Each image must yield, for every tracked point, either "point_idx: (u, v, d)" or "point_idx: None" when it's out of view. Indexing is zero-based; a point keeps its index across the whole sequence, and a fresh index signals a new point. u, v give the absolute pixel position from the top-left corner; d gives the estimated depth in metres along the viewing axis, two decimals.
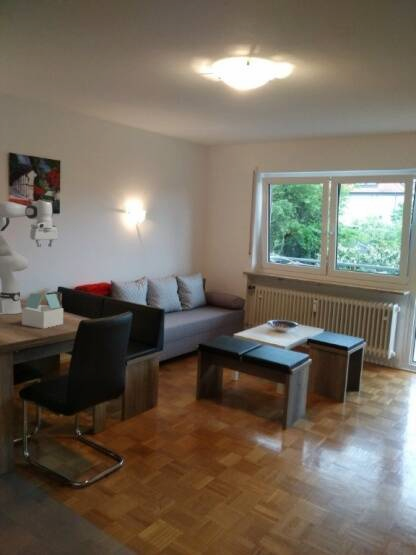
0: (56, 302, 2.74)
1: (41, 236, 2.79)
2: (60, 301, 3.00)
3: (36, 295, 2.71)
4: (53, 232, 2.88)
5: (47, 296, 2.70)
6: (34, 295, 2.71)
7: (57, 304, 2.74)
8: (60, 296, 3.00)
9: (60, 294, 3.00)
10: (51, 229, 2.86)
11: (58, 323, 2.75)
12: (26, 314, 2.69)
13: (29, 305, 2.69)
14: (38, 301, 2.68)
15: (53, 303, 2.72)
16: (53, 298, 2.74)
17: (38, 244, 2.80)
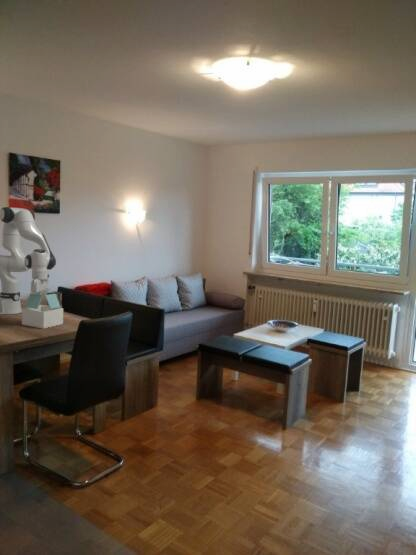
0: (56, 302, 2.74)
1: None
2: (60, 301, 3.00)
3: (36, 295, 2.71)
4: None
5: (47, 296, 2.70)
6: (34, 295, 2.71)
7: (57, 304, 2.74)
8: (60, 296, 3.00)
9: (60, 294, 3.00)
10: None
11: (58, 323, 2.75)
12: (26, 314, 2.69)
13: (29, 305, 2.69)
14: (38, 301, 2.68)
15: (53, 303, 2.72)
16: (53, 298, 2.74)
17: None
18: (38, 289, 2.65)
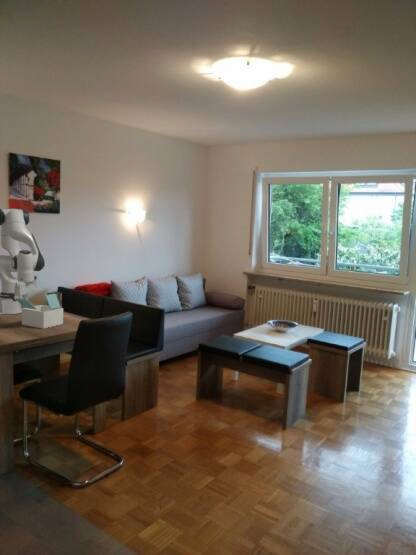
0: (56, 302, 2.74)
1: None
2: (60, 301, 3.00)
3: (22, 300, 2.61)
4: None
5: (47, 296, 2.70)
6: (20, 300, 2.62)
7: (57, 304, 2.74)
8: (60, 296, 3.00)
9: (60, 294, 3.00)
10: None
11: (58, 323, 2.75)
12: (26, 314, 2.69)
13: (26, 306, 2.67)
14: (30, 304, 2.62)
15: (53, 303, 2.72)
16: (53, 298, 2.74)
17: None
18: (22, 292, 2.55)
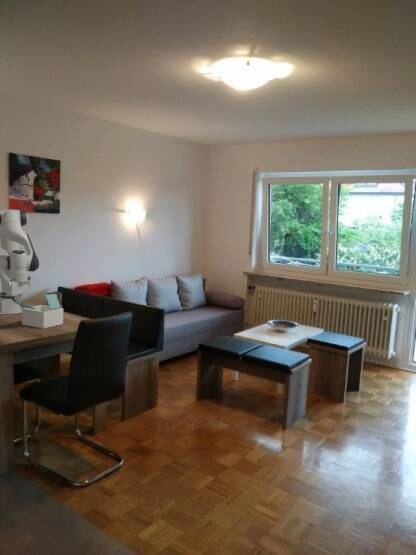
0: (56, 302, 2.74)
1: None
2: (60, 301, 3.00)
3: (21, 303, 2.61)
4: None
5: (47, 296, 2.70)
6: (19, 303, 2.61)
7: (57, 304, 2.74)
8: (60, 296, 3.00)
9: (60, 294, 3.00)
10: None
11: (58, 323, 2.75)
12: (26, 314, 2.69)
13: (26, 307, 2.67)
14: (29, 306, 2.62)
15: (53, 303, 2.72)
16: (53, 298, 2.74)
17: None
18: (14, 292, 2.51)
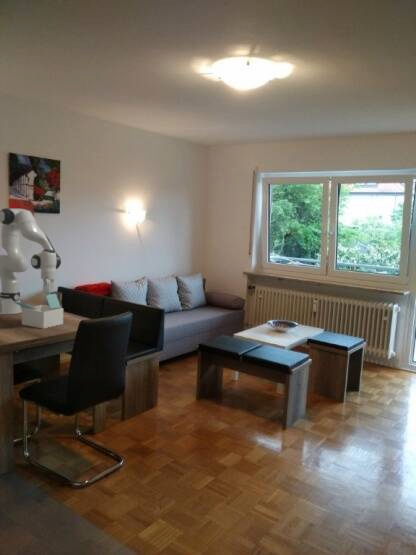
0: (56, 302, 2.74)
1: None
2: (60, 301, 3.00)
3: (21, 303, 2.61)
4: None
5: (47, 296, 2.70)
6: (19, 303, 2.61)
7: (57, 304, 2.74)
8: (60, 296, 3.00)
9: (60, 294, 3.00)
10: None
11: (58, 323, 2.75)
12: (26, 314, 2.69)
13: (26, 307, 2.67)
14: (29, 306, 2.62)
15: (53, 303, 2.72)
16: (53, 298, 2.74)
17: None
18: None
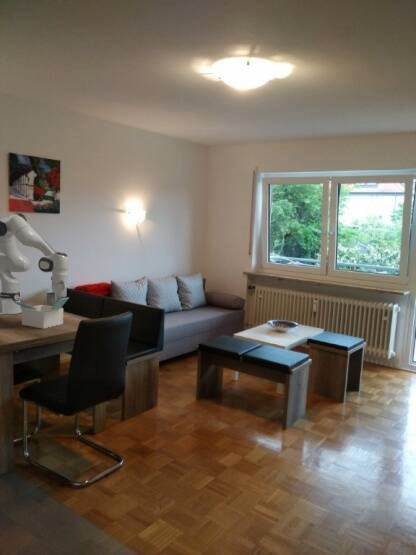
0: (61, 304, 2.73)
1: (54, 289, 2.71)
2: None
3: (21, 303, 2.61)
4: (59, 288, 2.62)
5: (59, 300, 2.66)
6: (19, 303, 2.61)
7: (60, 305, 2.73)
8: None
9: None
10: (58, 284, 2.64)
11: (58, 323, 2.75)
12: (26, 314, 2.69)
13: (26, 307, 2.67)
14: (29, 306, 2.62)
15: (58, 305, 2.70)
16: (63, 301, 2.71)
17: None
18: None
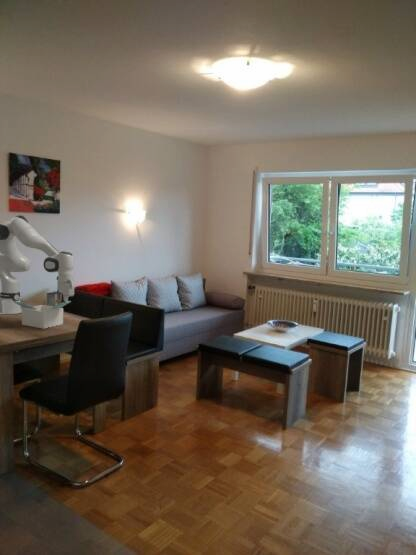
0: (62, 306, 2.73)
1: (60, 289, 2.70)
2: (60, 301, 3.00)
3: (21, 303, 2.61)
4: (66, 287, 2.61)
5: (61, 304, 2.66)
6: (19, 303, 2.61)
7: (61, 306, 2.73)
8: (60, 296, 3.00)
9: (60, 294, 3.00)
10: (65, 284, 2.63)
11: (58, 323, 2.75)
12: (26, 314, 2.69)
13: (26, 307, 2.67)
14: (29, 306, 2.62)
15: (58, 306, 2.70)
16: (64, 304, 2.70)
17: None
18: None
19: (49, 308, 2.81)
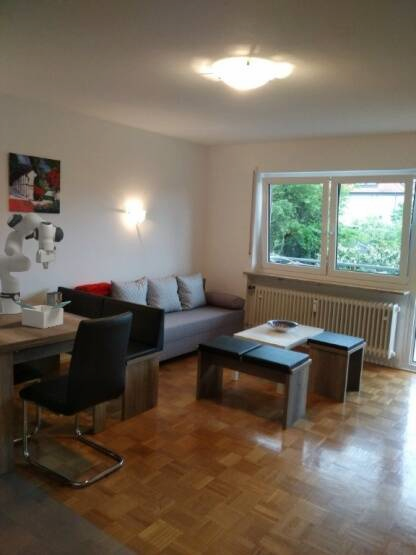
0: (62, 306, 2.73)
1: None
2: (60, 301, 3.00)
3: (21, 303, 2.61)
4: None
5: (61, 304, 2.66)
6: (19, 303, 2.61)
7: (61, 306, 2.73)
8: (60, 296, 3.00)
9: (60, 294, 3.00)
10: None
11: (58, 323, 2.75)
12: (26, 314, 2.69)
13: (26, 307, 2.67)
14: (29, 306, 2.62)
15: (58, 306, 2.70)
16: (64, 304, 2.70)
17: None
18: (43, 259, 2.76)
19: (49, 308, 2.81)
